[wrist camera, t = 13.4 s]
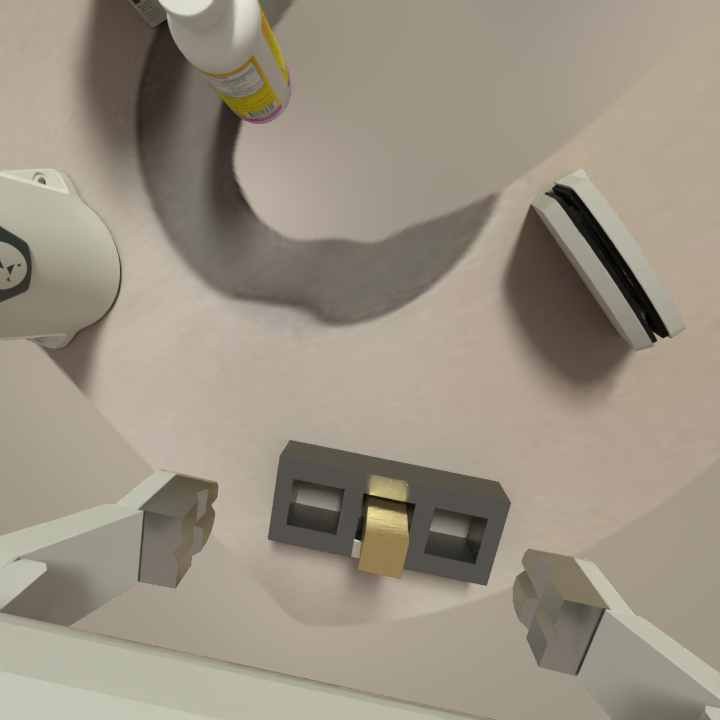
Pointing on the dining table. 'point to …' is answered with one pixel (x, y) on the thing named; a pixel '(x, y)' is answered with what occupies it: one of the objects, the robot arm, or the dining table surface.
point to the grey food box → (150, 11)
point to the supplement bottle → (233, 54)
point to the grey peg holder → (393, 482)
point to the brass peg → (384, 536)
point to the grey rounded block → (629, 264)
